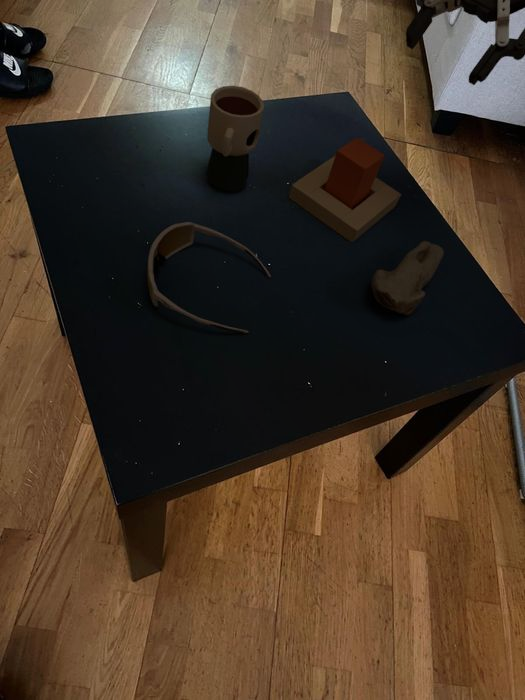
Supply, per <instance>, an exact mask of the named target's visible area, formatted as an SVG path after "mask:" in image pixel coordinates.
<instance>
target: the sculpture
mask: <svg viewBox="0 0 525 700" xmlns="http://www.w3.org/2000/svg"><path fill="white" fill-rule="evenodd" d="M444 254H445V251H444V249H443V247H442V246H440V245H439V244H435V243H431V242H430V241H427V240H422V241H420V242H419V244H418V245H417V246H416V247H414V248H413V249H411V250H410V251H409V252H407V254H405V256H404V257H403V258H402V260H401V261H400V262H399V263H398V264H397V266H396V268H395V269H393V270H391V271H388V270H384V269H377V270H376V271H375V272H374V274H373V276H372V278H371V281H370V282H371V283H370V286H371V290H372V293H373V295H374V299H375V301H376V302H377V303H379V304H380V305H381V306H382V307H384V308H386V309H388V310H390V311H392V312H396V313H398V314H402V315H404V316H410V315H411V314H412V313H413V312H415V310H416V309H417V307H418V306H420V304H421V303H422V301H423V299H425V296H426V292H425V291H424V290H422V289H423V288H425V286H426V285H428V284H429V283H430V281H431V280H432V279H433V277H434V275H435V273H436V271H437V269H438V267H439V265H440V263H441V261H442V258H443V257H444Z"/></svg>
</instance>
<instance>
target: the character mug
mask: <svg viewBox="0 0 525 700" xmlns="http://www.w3.org/2000/svg"><path fill="white" fill-rule="evenodd" d="M264 109H265V104H264V100H263V99H262V98H261V97H260V95H259V94H257V93H256V92H254V91H253V90H251V89H248V88H246V87H243V86H237V85H224V86H220V87H218V88H216V89H214V90H213V92H211V94H210V102H209V113H208V124H207V135H206V137H207V138H206V139H207V142H208V144H209V146H210V147H211V151H210V156H209V160H208V163H207V167H206V173H205V176H206V179H207V181H208V182H209V183H210V184H211V185H213V186H214V187H216V188H219V189H221V190H224V191H229V192H236V191H241V190H242V189H244V188H245V187H246V186H247V183H248V182H247V181H248V179H249V169H250V157H249V156H250V153H252V152H254V151H255V150H256V148H257V146H258V143H259V142H258V141H259V138H260V133H261V126H262V121H263V115H264Z"/></svg>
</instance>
